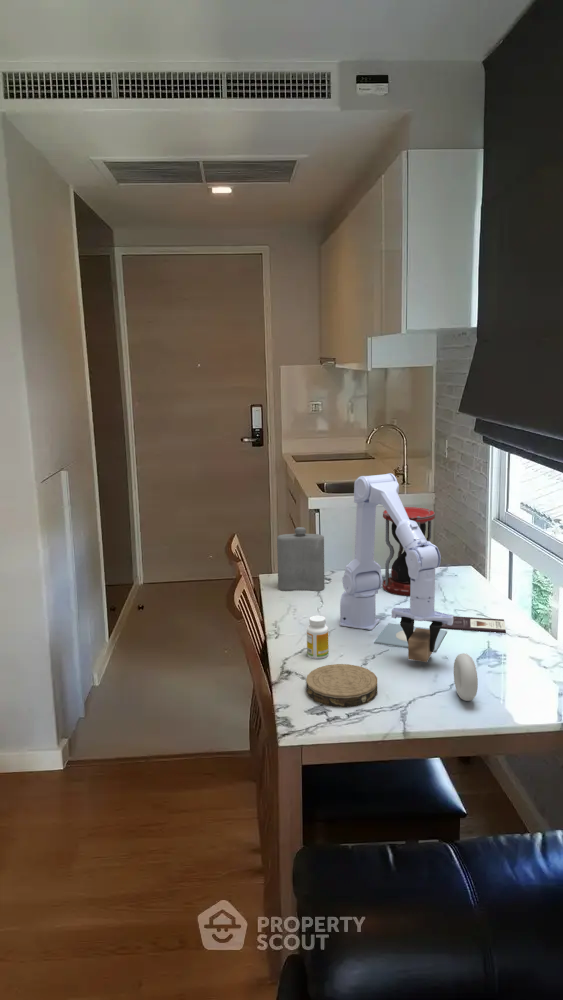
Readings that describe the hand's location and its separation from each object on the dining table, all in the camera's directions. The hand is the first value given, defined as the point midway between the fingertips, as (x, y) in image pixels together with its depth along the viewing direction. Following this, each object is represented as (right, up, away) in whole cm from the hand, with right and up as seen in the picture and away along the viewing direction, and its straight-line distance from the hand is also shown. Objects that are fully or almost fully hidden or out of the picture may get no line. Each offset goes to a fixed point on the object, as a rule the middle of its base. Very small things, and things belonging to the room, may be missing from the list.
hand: (421, 648), depth 172 cm
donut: (+6, -7, -18) cm, 20 cm away
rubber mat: (0, 0, +16) cm, 16 cm away
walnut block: (0, -1, 0) cm, 1 cm away
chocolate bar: (+18, +1, +24) cm, 30 cm away
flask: (-27, +7, +58) cm, 65 cm away
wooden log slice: (-20, -7, -13) cm, 25 cm away
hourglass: (+7, +8, +56) cm, 57 cm away
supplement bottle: (-25, -3, +6) cm, 26 cm away
